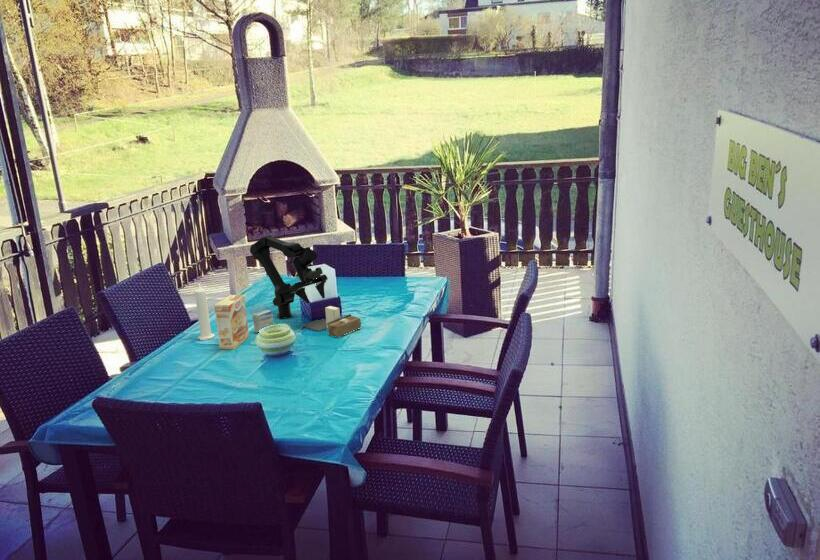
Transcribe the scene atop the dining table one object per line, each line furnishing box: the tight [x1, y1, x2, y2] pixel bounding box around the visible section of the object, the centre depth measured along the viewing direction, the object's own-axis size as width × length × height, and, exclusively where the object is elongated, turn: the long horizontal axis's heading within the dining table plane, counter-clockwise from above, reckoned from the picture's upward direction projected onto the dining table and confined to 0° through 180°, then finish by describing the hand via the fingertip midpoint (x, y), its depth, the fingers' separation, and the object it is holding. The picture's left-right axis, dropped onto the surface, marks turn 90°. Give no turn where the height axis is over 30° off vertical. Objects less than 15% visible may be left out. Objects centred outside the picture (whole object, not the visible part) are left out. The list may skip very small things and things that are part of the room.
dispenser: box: [327, 313, 362, 338], centre depth 294 cm, size 6×14×6 cm, turn 140°
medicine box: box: [252, 309, 275, 334], centre depth 300 cm, size 8×4×9 cm, turn 143°
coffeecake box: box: [214, 294, 250, 350], centre depth 285 cm, size 15×7×20 cm, turn 168°
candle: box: [194, 282, 215, 341], centre depth 293 cm, size 7×7×25 cm
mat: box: [301, 318, 327, 332], centre depth 304 cm, size 12×12×1 cm
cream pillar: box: [324, 305, 341, 328], centre depth 297 cm, size 6×3×10 cm, turn 50°
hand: (316, 300), depth 302 cm, fingers open, 9 cm apart
